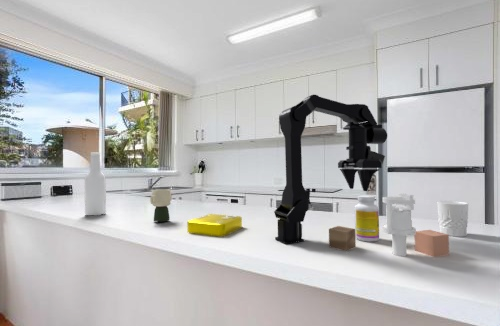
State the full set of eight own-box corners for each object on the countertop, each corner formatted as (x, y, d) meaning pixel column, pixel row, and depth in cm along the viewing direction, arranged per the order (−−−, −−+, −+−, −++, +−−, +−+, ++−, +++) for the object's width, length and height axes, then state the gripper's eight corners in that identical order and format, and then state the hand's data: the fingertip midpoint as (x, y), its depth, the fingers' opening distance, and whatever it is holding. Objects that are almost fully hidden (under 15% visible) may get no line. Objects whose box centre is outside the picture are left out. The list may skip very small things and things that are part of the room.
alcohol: (109, 213, 128) (109, 152, 129) (91, 216, 121) (90, 151, 121) (99, 212, 133) (99, 153, 133) (81, 215, 125) (80, 152, 126)
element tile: (209, 224, 103) (209, 212, 103) (243, 228, 97) (243, 215, 97) (184, 233, 90) (184, 219, 90) (222, 238, 83) (222, 223, 83)
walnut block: (346, 251, 68) (345, 232, 68) (329, 247, 72) (328, 228, 72) (355, 247, 71) (355, 228, 71) (338, 243, 75) (338, 225, 75)
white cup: (464, 232, 85) (463, 201, 85) (472, 238, 78) (472, 204, 78) (435, 230, 88) (434, 200, 88) (440, 235, 81) (439, 203, 81)
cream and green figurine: (165, 218, 114) (165, 188, 115) (177, 219, 111) (177, 189, 111) (144, 223, 105) (144, 191, 105) (157, 225, 101) (157, 191, 102)
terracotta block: (433, 257, 63) (433, 236, 63) (415, 250, 68) (414, 231, 68) (449, 254, 64) (448, 234, 64) (429, 248, 69) (429, 229, 69)
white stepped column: (403, 260, 61) (401, 195, 61) (377, 251, 67) (376, 193, 67) (423, 256, 63) (421, 194, 64) (396, 248, 70) (395, 191, 70)
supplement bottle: (382, 242, 75) (381, 197, 75) (357, 241, 76) (356, 197, 76) (375, 236, 81) (375, 195, 81) (353, 235, 82) (352, 194, 83)
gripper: (398, 140, 80) (399, 192, 79) (366, 145, 98) (366, 187, 98) (363, 140, 79) (363, 192, 78) (337, 145, 97) (337, 187, 97)
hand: (358, 189), depth 88 cm, fingers open, 9 cm apart
